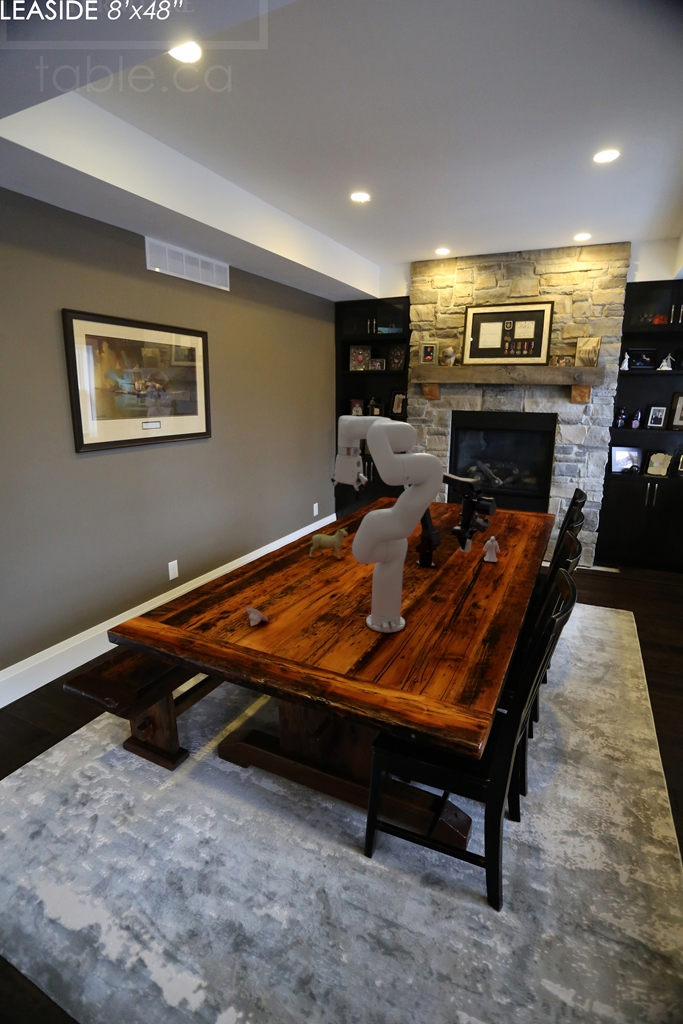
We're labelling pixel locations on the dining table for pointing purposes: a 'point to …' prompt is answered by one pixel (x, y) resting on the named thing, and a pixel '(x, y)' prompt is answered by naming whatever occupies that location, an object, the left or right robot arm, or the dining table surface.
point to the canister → (467, 546)
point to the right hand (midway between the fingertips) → (465, 548)
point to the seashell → (255, 616)
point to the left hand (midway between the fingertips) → (347, 499)
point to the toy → (329, 542)
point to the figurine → (491, 550)
